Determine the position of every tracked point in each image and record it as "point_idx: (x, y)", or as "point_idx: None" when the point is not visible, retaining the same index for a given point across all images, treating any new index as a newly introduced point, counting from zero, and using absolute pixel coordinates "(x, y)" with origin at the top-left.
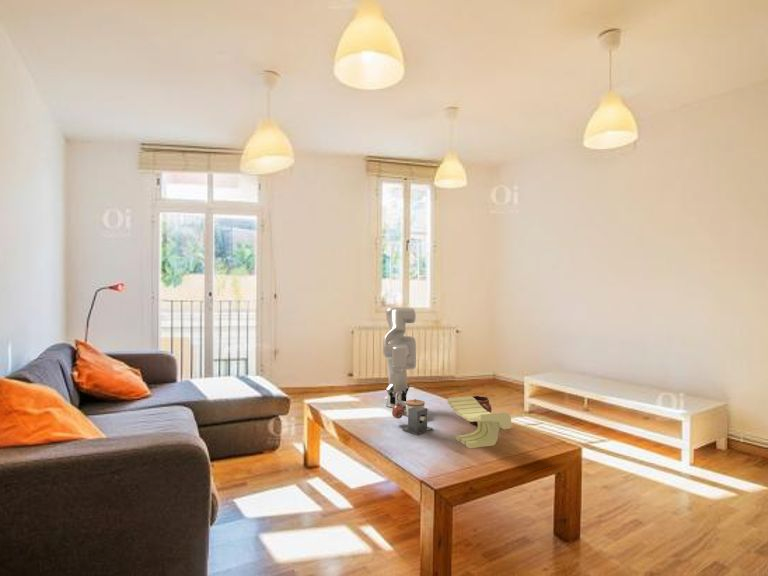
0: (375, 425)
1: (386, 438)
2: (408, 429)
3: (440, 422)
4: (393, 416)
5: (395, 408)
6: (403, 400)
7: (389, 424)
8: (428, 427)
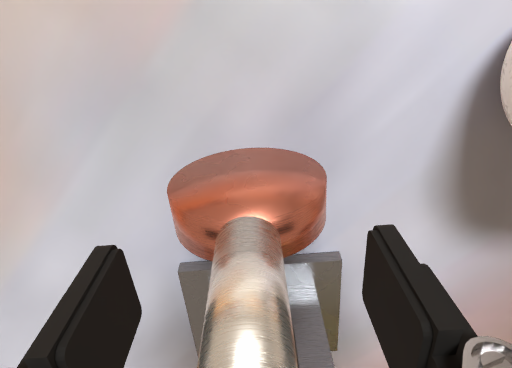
0: (45, 61)
1: (11, 304)
2: (199, 302)
3: (498, 284)
4: (195, 164)
5: (185, 240)
6: (367, 275)
7: (177, 116)
8: (327, 335)
